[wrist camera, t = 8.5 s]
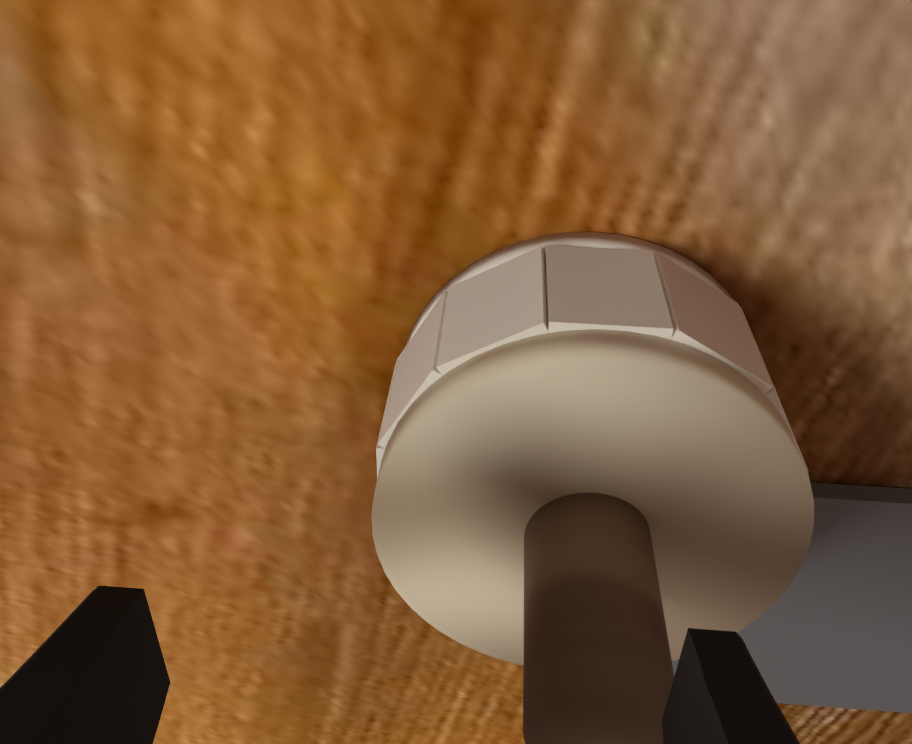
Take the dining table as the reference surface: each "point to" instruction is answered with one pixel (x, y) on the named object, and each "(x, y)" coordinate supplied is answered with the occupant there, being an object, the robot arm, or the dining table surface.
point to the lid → (591, 518)
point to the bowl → (572, 309)
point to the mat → (844, 607)
